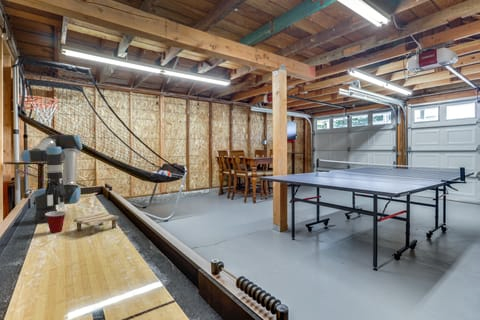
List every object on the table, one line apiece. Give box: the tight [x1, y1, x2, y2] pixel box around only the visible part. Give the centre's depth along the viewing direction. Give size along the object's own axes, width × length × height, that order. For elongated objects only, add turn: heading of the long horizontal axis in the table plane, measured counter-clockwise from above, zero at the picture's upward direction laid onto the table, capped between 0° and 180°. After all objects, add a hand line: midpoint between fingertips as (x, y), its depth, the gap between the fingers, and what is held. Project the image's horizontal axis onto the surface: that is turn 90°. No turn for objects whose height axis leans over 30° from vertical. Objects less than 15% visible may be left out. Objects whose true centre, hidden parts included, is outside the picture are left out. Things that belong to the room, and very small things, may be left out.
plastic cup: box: [45, 210, 67, 234], centre depth 154 cm, size 11×11×12 cm
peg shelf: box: [73, 212, 119, 236], centre depth 159 cm, size 18×18×8 cm
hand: (55, 206), depth 153 cm, fingers open, 13 cm apart
